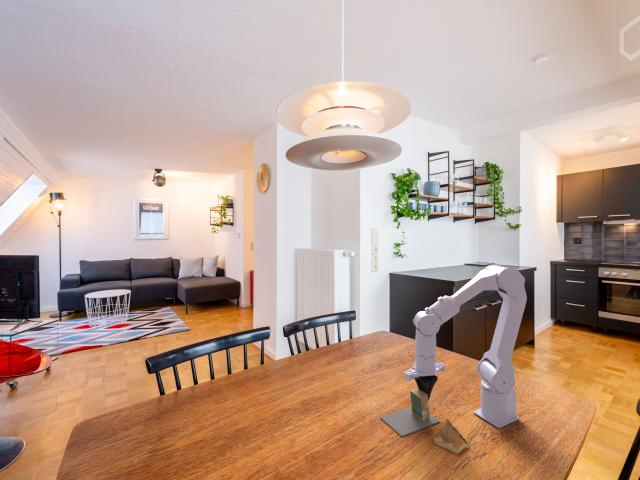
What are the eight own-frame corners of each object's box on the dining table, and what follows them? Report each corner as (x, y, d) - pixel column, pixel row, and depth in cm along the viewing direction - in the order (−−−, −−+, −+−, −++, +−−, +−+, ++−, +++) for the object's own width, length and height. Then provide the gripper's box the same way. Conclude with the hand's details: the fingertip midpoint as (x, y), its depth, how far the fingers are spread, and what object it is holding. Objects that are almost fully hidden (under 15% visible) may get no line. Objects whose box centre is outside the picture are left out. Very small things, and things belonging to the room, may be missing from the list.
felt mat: (416, 405, 94) (416, 404, 94) (440, 421, 86) (440, 420, 86) (380, 418, 88) (380, 417, 88) (401, 437, 80) (402, 435, 80)
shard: (446, 424, 86) (446, 417, 86) (476, 436, 81) (476, 429, 81) (432, 444, 78) (432, 437, 78) (464, 459, 73) (464, 452, 73)
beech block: (418, 409, 91) (415, 387, 90) (429, 417, 87) (427, 394, 86) (411, 412, 90) (409, 390, 89) (423, 421, 86) (421, 397, 85)
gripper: (432, 344, 96) (432, 387, 96) (396, 352, 89) (396, 398, 90) (451, 352, 90) (450, 398, 90) (414, 362, 83) (413, 411, 83)
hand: (424, 399), depth 89 cm, fingers closed
